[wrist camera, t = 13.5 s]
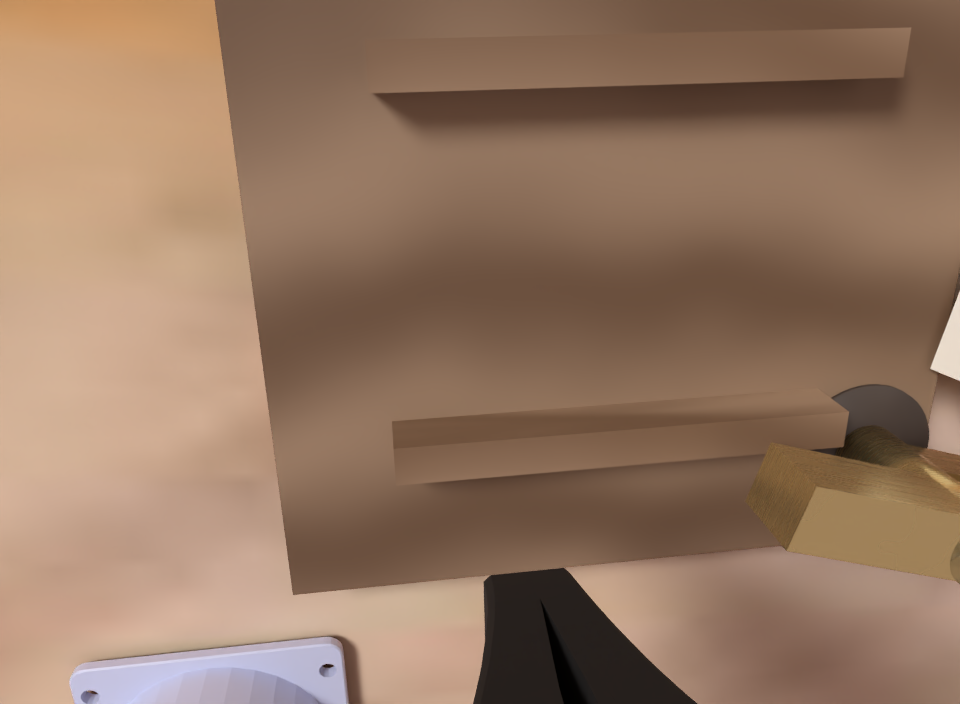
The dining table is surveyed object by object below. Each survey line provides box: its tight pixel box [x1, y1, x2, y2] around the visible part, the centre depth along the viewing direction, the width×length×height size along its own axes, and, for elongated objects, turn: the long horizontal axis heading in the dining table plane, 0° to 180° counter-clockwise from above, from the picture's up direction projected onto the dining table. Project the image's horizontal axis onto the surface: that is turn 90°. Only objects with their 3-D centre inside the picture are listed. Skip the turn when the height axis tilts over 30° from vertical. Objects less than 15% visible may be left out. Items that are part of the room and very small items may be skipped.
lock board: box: [215, 0, 960, 595], centre depth 20 cm, size 15×18×4 cm
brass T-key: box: [745, 425, 960, 584], centre depth 20 cm, size 12×2×5 cm, turn 74°
